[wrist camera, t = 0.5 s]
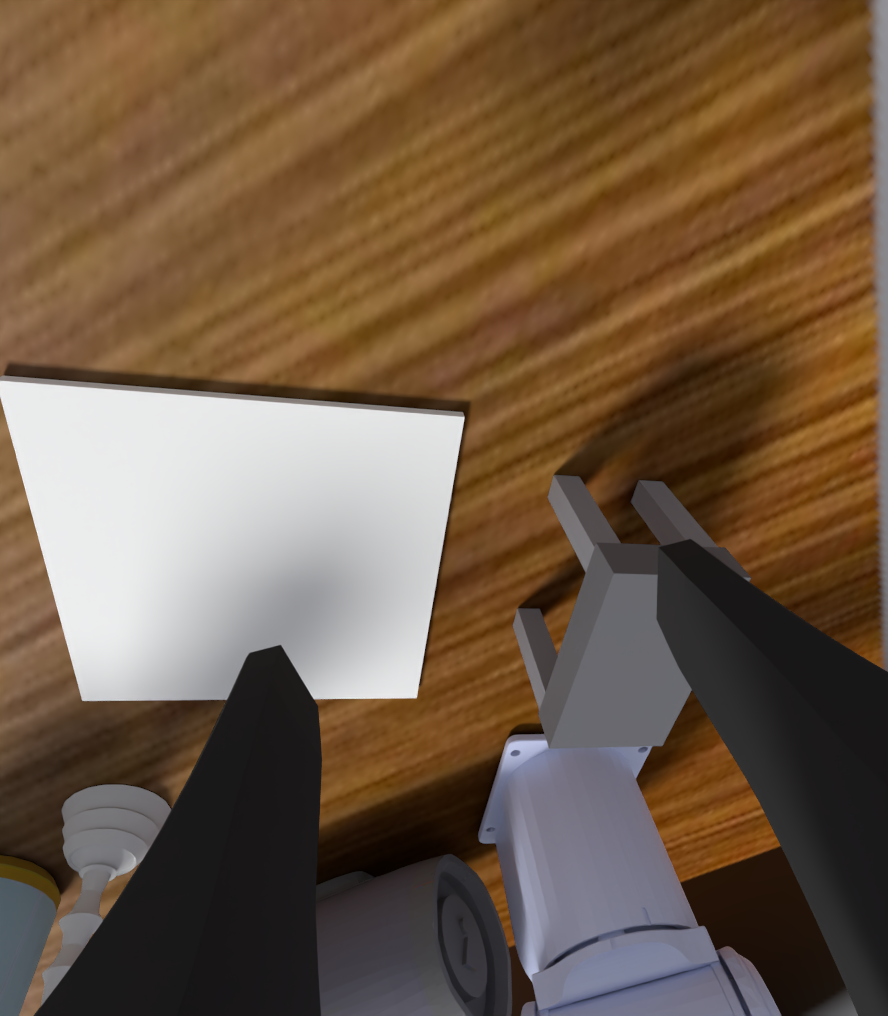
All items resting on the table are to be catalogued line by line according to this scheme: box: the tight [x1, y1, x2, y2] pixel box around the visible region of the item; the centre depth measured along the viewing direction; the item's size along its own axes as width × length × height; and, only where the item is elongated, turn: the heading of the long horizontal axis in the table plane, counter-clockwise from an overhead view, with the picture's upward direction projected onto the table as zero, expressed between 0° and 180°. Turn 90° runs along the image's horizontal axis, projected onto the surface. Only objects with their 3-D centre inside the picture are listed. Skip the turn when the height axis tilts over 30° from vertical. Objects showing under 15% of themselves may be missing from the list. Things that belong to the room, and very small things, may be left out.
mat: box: [0, 376, 465, 701], centre depth 23 cm, size 14×14×1 cm
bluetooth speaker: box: [316, 854, 512, 1016], centre depth 33 cm, size 23×9×10 cm, turn 121°
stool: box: [513, 475, 751, 749], centre depth 22 cm, size 8×4×6 cm, turn 172°
